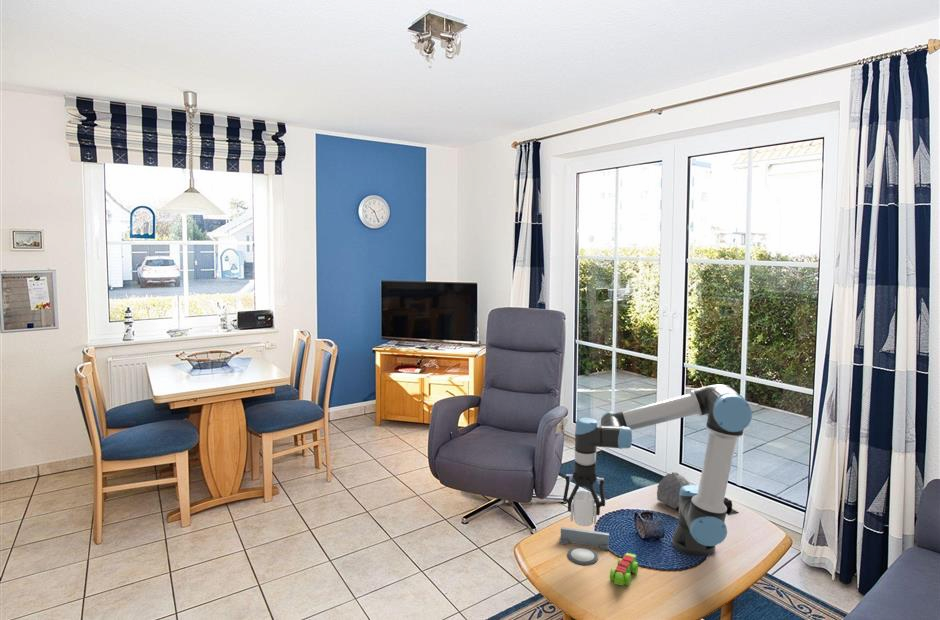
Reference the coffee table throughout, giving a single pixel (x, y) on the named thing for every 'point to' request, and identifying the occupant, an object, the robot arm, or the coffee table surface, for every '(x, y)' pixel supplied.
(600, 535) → the grey rectangular bar
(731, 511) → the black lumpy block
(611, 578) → the toy crocodile
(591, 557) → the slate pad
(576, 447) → the robot arm
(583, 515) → the white cup
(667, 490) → the decorative rock
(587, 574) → the coffee table surface
